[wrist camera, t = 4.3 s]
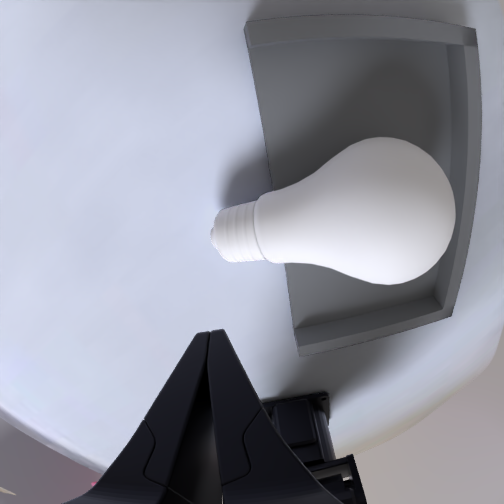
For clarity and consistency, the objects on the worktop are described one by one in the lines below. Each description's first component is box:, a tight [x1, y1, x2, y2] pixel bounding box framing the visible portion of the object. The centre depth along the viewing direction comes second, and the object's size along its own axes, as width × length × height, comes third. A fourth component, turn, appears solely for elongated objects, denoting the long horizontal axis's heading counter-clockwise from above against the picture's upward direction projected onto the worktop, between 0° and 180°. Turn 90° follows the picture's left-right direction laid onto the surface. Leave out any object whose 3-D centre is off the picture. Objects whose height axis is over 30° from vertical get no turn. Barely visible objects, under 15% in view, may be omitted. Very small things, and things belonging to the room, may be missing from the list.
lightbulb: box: [210, 137, 456, 285], centre depth 13 cm, size 6×6×11 cm
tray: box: [244, 15, 482, 357], centre depth 15 cm, size 18×11×2 cm, turn 10°
